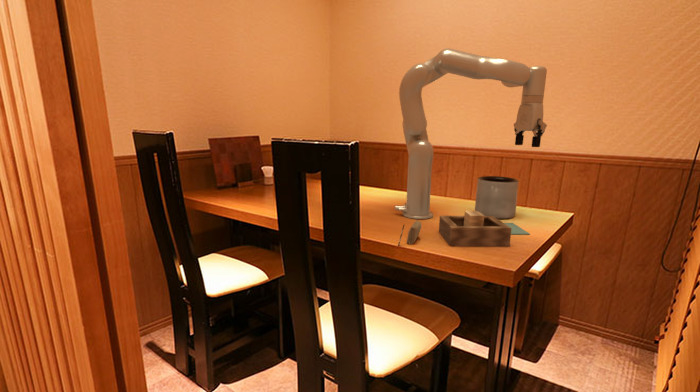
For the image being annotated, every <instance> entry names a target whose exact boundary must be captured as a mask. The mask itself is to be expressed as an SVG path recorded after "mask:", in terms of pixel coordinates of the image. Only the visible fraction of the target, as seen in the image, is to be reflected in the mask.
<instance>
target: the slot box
mask: <svg viewBox="0 0 700 392" xmlns="http://www.w3.org/2000/svg"><path fill="white" fill-rule="evenodd" d="M504 223H505V222H503V221H502V220H501V219H497V218H496V217H494V216H484V224H483V226H464V215H443V214H442V215H439V223H438V233H439V234H440V236H441V237H442V238H443V239H444V240H445V242H446V243H447V244H448V246H450V247H485V248H486V247H487V248H488V247H495V248H496V247H498V248H499V247H500V248H501V247H502V248H503V247H505V248H507V247H508V248H509V247H510V245H511V237H512V236H511V229H512V228H510V227H509V226H507V225H506V224H504Z"/></svg>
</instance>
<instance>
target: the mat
mask: <svg viewBox="0 0 700 392" xmlns="http://www.w3.org/2000/svg"><path fill="white" fill-rule="evenodd" d="M503 223H504V224H506V225H507V226H509V227H510V228H512V229H511V235H514V236H525V235H526V236H530V235H531V234H530V232H529V231H527V230H525V229H523V228H522V227H520V226H518V225H517V224H515V223H514V222H503Z"/></svg>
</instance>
